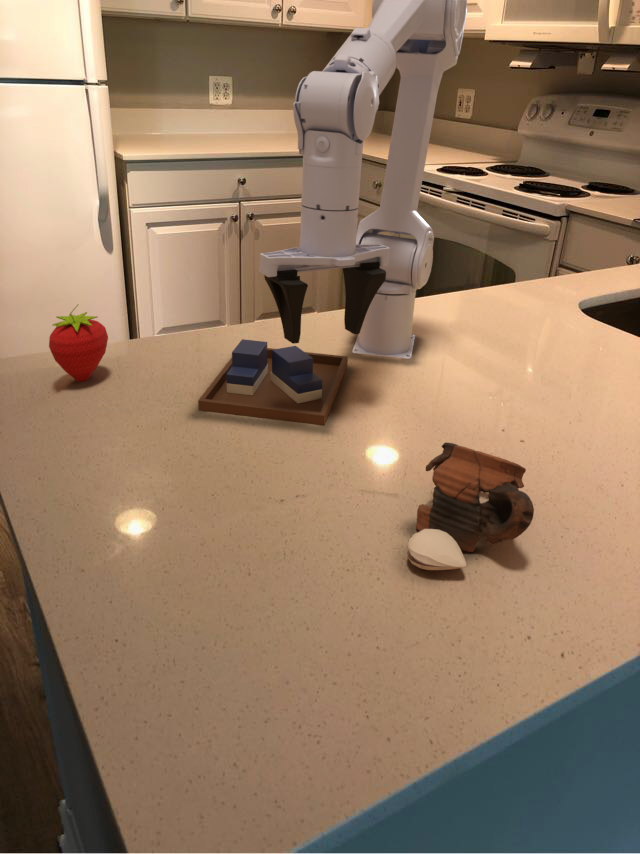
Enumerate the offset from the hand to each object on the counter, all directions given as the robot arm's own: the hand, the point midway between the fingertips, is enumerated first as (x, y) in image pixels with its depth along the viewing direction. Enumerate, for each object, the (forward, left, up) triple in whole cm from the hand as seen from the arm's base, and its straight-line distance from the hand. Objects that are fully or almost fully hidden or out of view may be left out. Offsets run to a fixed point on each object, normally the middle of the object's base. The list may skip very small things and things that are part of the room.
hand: (322, 335), depth 77 cm
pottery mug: (+19, +17, -9) cm, 27 cm away
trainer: (-4, -4, -9) cm, 10 cm away
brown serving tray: (-4, -6, -9) cm, 12 cm away
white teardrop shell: (+25, +14, -9) cm, 30 cm away
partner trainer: (-4, -10, -9) cm, 13 cm away
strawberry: (0, -29, -9) cm, 30 cm away
